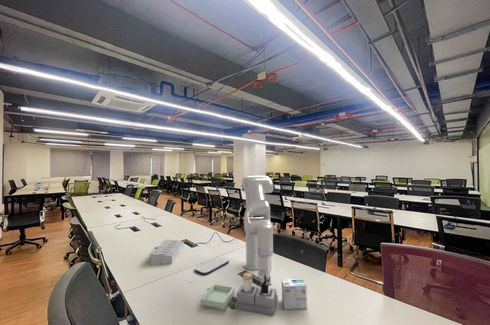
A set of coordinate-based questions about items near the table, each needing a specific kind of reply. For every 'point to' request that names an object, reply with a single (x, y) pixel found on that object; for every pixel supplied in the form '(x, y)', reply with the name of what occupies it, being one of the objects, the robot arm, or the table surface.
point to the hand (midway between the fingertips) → (265, 289)
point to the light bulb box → (294, 293)
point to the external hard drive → (211, 265)
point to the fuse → (247, 283)
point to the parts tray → (218, 297)
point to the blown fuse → (268, 288)
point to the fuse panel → (256, 301)
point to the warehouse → (166, 252)
